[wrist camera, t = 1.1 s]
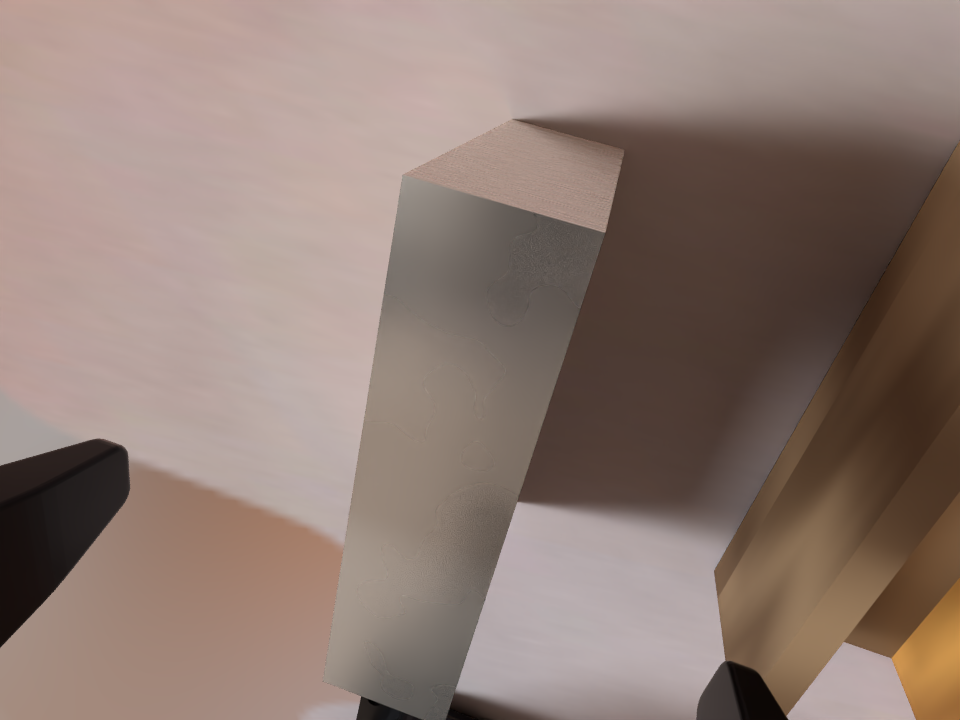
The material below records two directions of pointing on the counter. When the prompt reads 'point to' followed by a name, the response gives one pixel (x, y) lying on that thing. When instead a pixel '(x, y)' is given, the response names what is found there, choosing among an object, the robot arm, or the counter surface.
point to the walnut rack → (867, 494)
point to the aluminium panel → (460, 397)
